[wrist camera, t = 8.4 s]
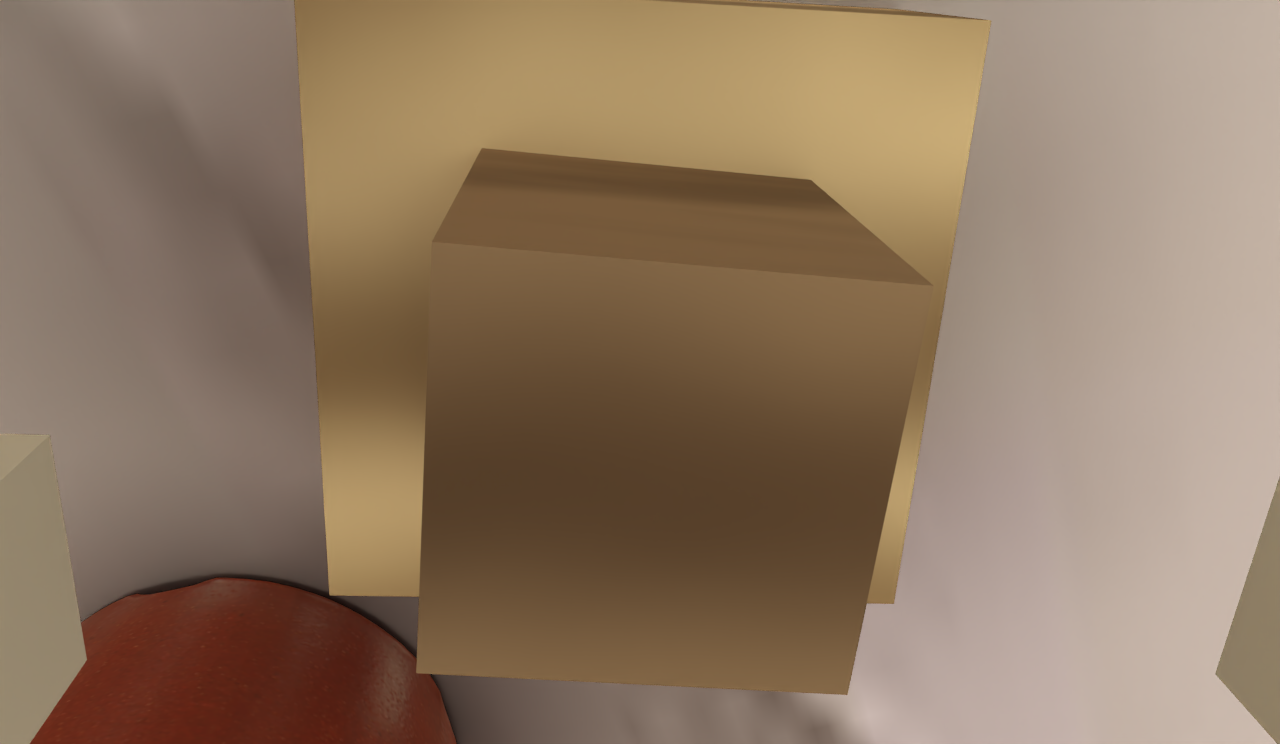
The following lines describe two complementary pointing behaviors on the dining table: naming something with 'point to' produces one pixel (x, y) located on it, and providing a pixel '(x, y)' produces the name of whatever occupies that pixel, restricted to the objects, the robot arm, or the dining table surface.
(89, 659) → the flower pot
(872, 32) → the oak pedestal
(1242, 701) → the robot arm
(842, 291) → the walnut block
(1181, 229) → the dining table surface
